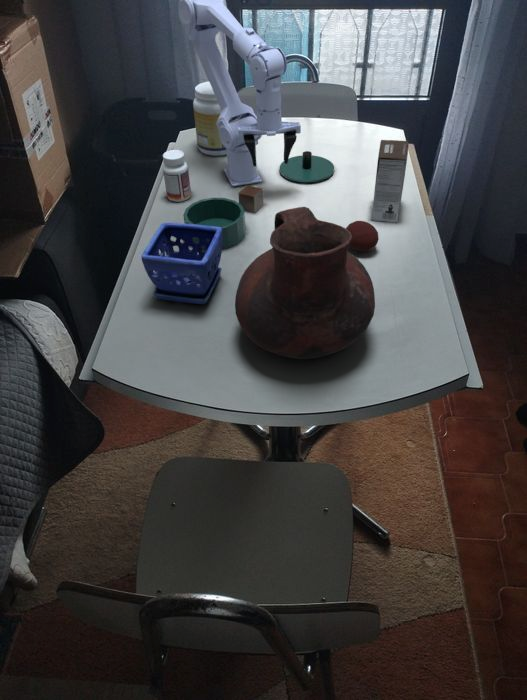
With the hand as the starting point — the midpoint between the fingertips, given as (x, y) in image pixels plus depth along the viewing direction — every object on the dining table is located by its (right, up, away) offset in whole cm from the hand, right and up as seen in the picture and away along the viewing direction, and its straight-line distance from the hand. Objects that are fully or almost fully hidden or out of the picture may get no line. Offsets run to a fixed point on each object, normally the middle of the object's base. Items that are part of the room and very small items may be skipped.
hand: (270, 163), depth 146 cm
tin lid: (+10, +3, +14) cm, 17 cm away
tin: (-13, -19, -7) cm, 23 cm away
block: (-5, -10, +1) cm, 11 cm away
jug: (+6, -43, -33) cm, 54 cm away
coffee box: (+28, -13, -2) cm, 31 cm away
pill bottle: (-23, -7, +6) cm, 25 cm away
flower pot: (-17, -33, -22) cm, 43 cm away
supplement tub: (-14, +12, +26) cm, 32 cm away
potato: (+20, -23, -13) cm, 33 cm away
